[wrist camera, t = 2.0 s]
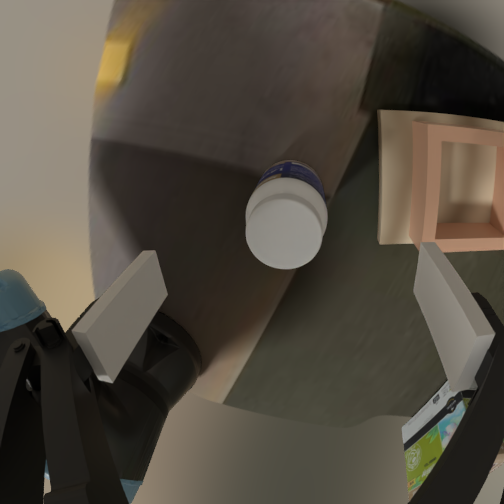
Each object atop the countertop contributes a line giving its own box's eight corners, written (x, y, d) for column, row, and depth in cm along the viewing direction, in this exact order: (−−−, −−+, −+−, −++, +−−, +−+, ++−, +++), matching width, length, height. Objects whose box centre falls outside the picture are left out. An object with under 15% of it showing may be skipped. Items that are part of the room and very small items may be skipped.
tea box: (451, 369, 35) (479, 457, 22) (494, 375, 34) (523, 450, 21) (398, 427, 42) (407, 504, 29) (441, 429, 41) (455, 497, 28)
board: (377, 239, 28) (379, 244, 27) (377, 109, 23) (380, 109, 22) (507, 235, 25) (512, 240, 24) (518, 124, 20) (525, 126, 19)
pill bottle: (274, 147, 26) (260, 173, 17) (334, 177, 26) (350, 217, 18) (248, 204, 29) (223, 254, 20) (304, 230, 29) (304, 291, 20)
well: (408, 235, 26) (420, 253, 23) (412, 120, 22) (427, 124, 19) (495, 233, 24) (512, 249, 21) (506, 131, 20) (527, 137, 17)
